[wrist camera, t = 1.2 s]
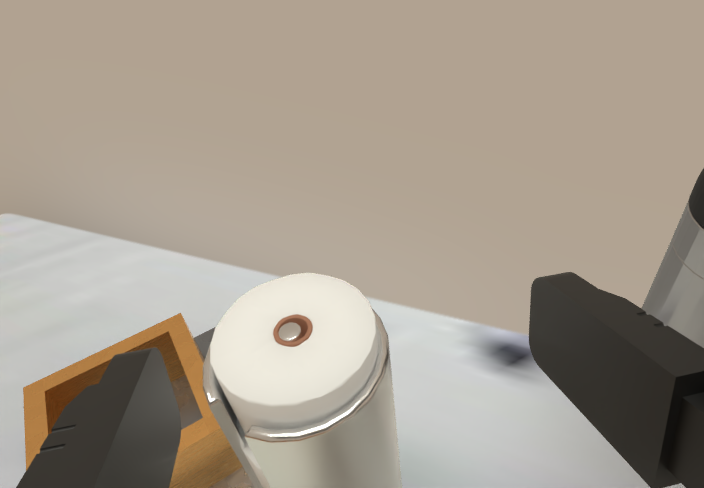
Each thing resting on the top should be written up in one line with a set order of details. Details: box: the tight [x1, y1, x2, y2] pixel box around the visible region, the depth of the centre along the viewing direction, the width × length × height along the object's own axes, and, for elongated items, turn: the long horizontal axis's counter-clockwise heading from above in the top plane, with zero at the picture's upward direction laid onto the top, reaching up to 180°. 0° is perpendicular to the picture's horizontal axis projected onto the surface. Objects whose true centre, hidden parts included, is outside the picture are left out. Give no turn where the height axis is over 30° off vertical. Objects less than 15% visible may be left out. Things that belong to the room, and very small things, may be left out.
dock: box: [23, 313, 255, 488], centre depth 36 cm, size 18×18×8 cm
